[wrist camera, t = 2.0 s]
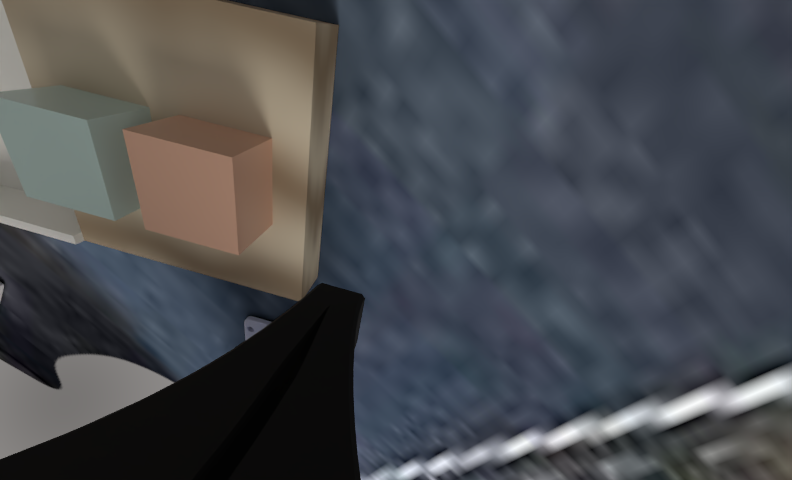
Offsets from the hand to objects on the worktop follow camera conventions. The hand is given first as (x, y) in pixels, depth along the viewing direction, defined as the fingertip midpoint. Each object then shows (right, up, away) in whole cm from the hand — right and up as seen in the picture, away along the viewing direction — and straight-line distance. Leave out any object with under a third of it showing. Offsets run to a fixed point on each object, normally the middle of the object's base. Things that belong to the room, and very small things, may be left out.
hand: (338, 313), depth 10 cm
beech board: (-9, +7, +9) cm, 14 cm away
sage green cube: (-12, +7, +7) cm, 16 cm away
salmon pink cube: (-6, +5, +6) cm, 11 cm away
